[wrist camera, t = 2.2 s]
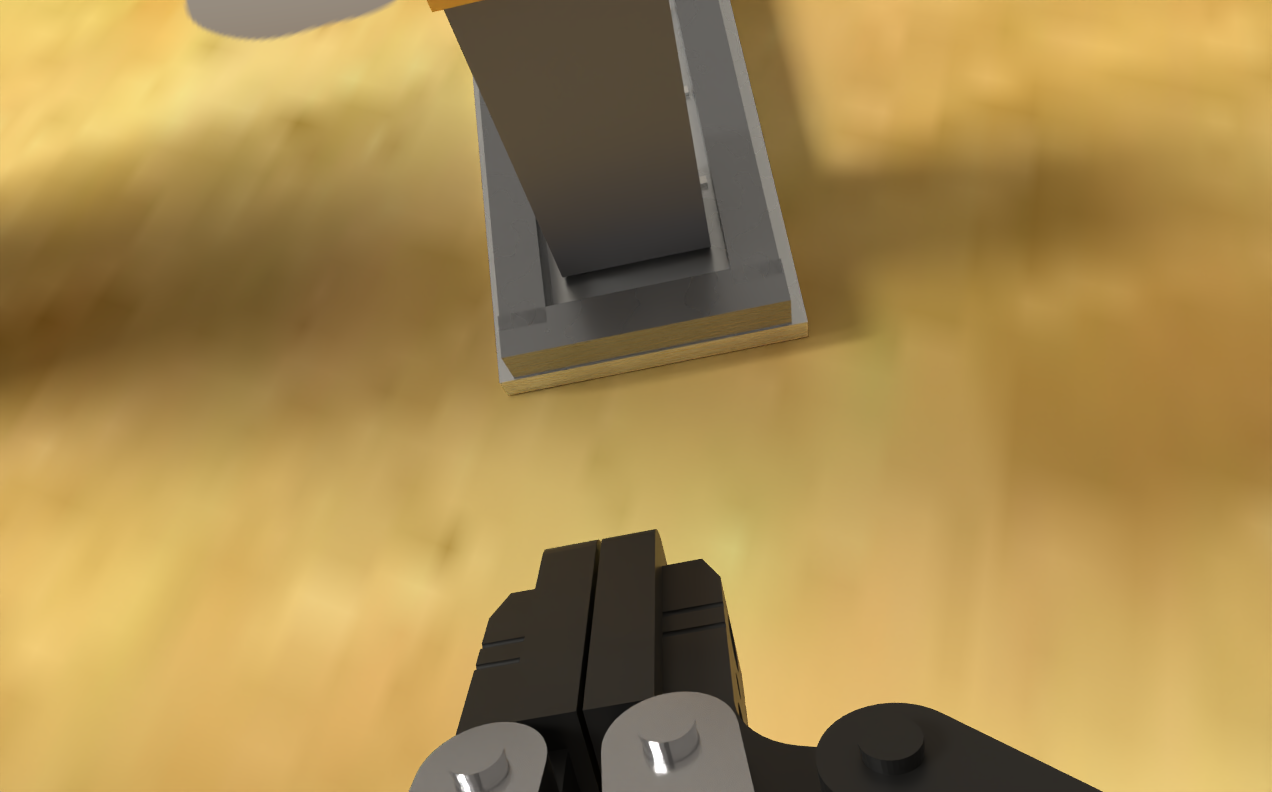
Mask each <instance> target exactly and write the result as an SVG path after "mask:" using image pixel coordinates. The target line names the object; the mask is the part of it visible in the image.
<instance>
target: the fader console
mask: <svg viewBox="0 0 1272 792" xmlns="http://www.w3.org/2000/svg"><path fill="white" fill-rule="evenodd" d="M669 4H670V10H671V16H672V21H673V27H674V33H675V39H676V45H677V51H678V56H679V62H680V68H681V74H682V80H683V86H684V91H685V97H686V103H687V109H688V115H689V121H690V126H691V132H692V138H693V144H694V150H695V156H696V162H697V167H698V173H699V179H700V185H701V191H702V197H703V202H704V208H705V214H706V220H707V226H708V232H709V237H710V243H711V247H707V248H702V249H697V250H693V251H688V252H683V253H678V254H673V255H668V256H664V257H659V258H654V259H649V260H644V261H639V262H635V263H630V264H625V265H620V266H615V267H610V268H606V269H601V270H596V271H591V272H586V273H581V274H577V275H572V276H567V277H562V276H561V273H560V271H559V269H558V267H557V264H556V262H555V260H554V257H553V255H552V253H551V251H550V248H549V246H548V244H547V242H546V239H545V237H544V235H543V233H542V230H541V228H540V226H539V224H538V221H537V219H536V217H535V215H534V212H533V210H532V208H531V206H530V203H529V201H528V199H527V196H526V194H525V192H524V190H523V187H522V185H521V183H520V181H519V178H518V176H517V174H516V172H515V169H514V167H513V165H512V163H511V160H510V158H509V156H508V154H507V151H506V149H505V147H504V145H503V142H502V140H501V138H500V136H499V133H498V131H497V129H496V126H495V124H494V122H493V120H492V117H491V115H490V113H489V111H488V108H487V106H486V104H485V102H484V99H483V97H482V95H481V93H480V90H479V88H478V86H477V84H476V81H475V79H474V77H473V85H474V96H475V107H476V119H477V130H478V142H479V153H480V165H481V176H482V188H483V199H484V210H485V222H486V233H487V245H488V256H489V268H490V279H491V291H492V302H493V313H494V325H495V336H496V348H497V359H498V371H499V382H500V384H501V386H502V387H503V389H504V390H505V392H506V393H507V395H508V396H509V395H514V394H519V393H524V392H529V391H534V390H539V389H544V388H549V387H554V386H559V385H564V384H569V383H574V382H580V381H585V380H590V379H595V378H600V377H605V376H610V375H615V374H620V373H625V372H630V371H635V370H640V369H646V368H651V367H656V366H661V365H666V364H671V363H676V362H681V361H686V360H691V359H696V358H701V357H706V356H711V355H717V354H722V353H727V352H732V351H737V350H742V349H747V348H752V347H757V346H762V345H767V344H772V343H777V342H782V341H788V340H793V339H798V338H803V337H808V320H807V316H806V312H805V307H804V303H803V299H802V295H801V291H800V287H799V283H798V279H797V274H796V270H795V266H794V262H793V258H792V254H791V250H790V246H789V241H788V237H787V233H786V229H785V225H784V221H783V217H782V213H781V208H780V204H779V200H778V196H777V192H776V188H775V184H774V180H773V175H772V171H771V167H770V163H769V159H768V155H767V151H766V147H765V142H764V138H763V134H762V130H761V126H760V122H759V118H758V114H757V109H756V105H755V101H754V97H753V93H752V89H751V85H750V81H749V76H748V72H747V68H746V64H745V60H744V56H743V52H742V48H741V43H740V39H739V35H738V31H737V27H736V23H735V19H734V15H733V10H732V6H731V2H730V0H669Z"/></svg>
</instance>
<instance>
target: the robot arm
mask: <svg viewBox="0 0 1272 792" xmlns="http://www.w3.org/2000/svg"><path fill="white" fill-rule="evenodd" d="M482 647H483V649H480V652H479V656H478V659H477V663H476V669H477V670H475V671H474V673H473V677H472V680H471V684H470V687H469V691H468V694H467V698H466V701H465V705H464V708H463V712H462V715H461V719H460V722H459V726H458V729H457V733H456V736H454V737H452V738H451V739H449V740H448V741H446V742H445V743H443V744H442V745H441V746H439V747H438V748H437V749H436V750H434V751H433V752H432V753H431V754H430V755H429V756H428V757H427V758H426V760H425V761H424V762H423V764H422V765H421V766H420V768H419V770H418V772H417V774H416V776H415V778H414V780H413V783H412V785H411V788H410V790H409V792H1102V791H1100V790H1098V789H1096V788H1094V787H1092V786H1090V785H1088V784H1086V783H1084V782H1082V781H1080V780H1078V779H1076V778H1074V777H1072V776H1069V775H1067V774H1065V773H1063V772H1061V771H1059V770H1057V769H1055V768H1053V767H1051V766H1049V765H1047V764H1045V763H1043V762H1041V761H1039V760H1037V759H1035V758H1033V757H1031V756H1029V755H1027V754H1024V753H1022V752H1020V751H1018V750H1016V749H1014V748H1012V747H1010V746H1008V745H1006V744H1004V743H1002V742H1000V741H998V740H996V739H994V738H992V737H990V736H988V735H986V734H984V733H982V732H979V731H977V730H975V729H973V728H971V727H969V726H967V725H965V724H963V723H961V722H959V721H957V720H955V719H953V718H951V717H949V716H947V715H945V714H943V713H940V712H938V711H936V710H933V709H931V708H927V707H924V706H920V705H914V704H907V703H885V704H877V705H872V706H867V707H864V708H861V709H858V710H855V711H853V712H851V713H849V714H847V715H845V716H843V717H842V718H840V719H839V720H837V721H836V722H834V723H833V724H832V725H831V726H830V727H829V728H828V729H827V730H826V732H825V733H824V734H823V736H822V737H821V739H820V741H819V743H818V745H817V747H808V746H797V745H790V744H784V743H780V742H776V741H773V740H771V739H768V738H766V737H763V736H761V735H760V734H758V733H756V732H754V731H753V730H752V729H751V728H749V727H748V720H747V712H746V706H745V697H744V689H743V681H742V674H741V670H740V665H739V660H738V656H737V651H736V647H735V642H734V637H733V633H732V628H731V624H730V619H729V614H728V610H727V605H726V601H725V596H724V591H723V587H722V582H721V578H720V576H719V575H718V574H717V573H716V572H715V571H714V570H713V569H712V568H711V567H710V566H709V565H708V564H707V563H706V562H705V561H704V560H703V559H698V560H693V561H687V562H682V563H676V564H671V565H667V562H666V558H665V554H664V550H663V546H662V542H661V538H660V535H659V533H658V530H657V529H654V530H649V531H643V532H638V533H632V534H627V535H622V536H616V537H611V538H606V539H602V542H601V541H600V540H594V541H589V542H583V543H578V544H572V545H567V546H562V547H556V548H551V549H546V550H545V551H544V552H543V556H542V561H541V565H540V570H539V574H538V579H537V583H536V588H535V589H533V590H527V591H522V592H516V593H511V594H510V595H509V596H508V598H507V599H506V600H505V601H504V602H503V603H502V604H501V606H500V607H499V608H498V609H497V610H496V611H495V612H494V614H493V615H492V616H491V617H490V618H489V621H488V625H487V628H486V632H485V635H484V639H483V642H482Z"/></svg>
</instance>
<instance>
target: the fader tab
mask: <svg viewBox="0 0 1272 792" xmlns="http://www.w3.org/2000/svg"><path fill="white" fill-rule="evenodd" d="M427 2H428V4H429V6H430V8H431V10H432V12H435V11H439V10H444V11H445V14H446V16H447V18H448V20H449V23H450V25H451V27H452V29H453V32H454V34H455V36H456V38H457V41H458V43H459V45H460V47H461V50H462V52H463V54H464V56H465V59H466V61H467V63H468V66H469V68H470V70H471V72H472V75H473V77H474V79H475V81H476V84H477V86H478V88H479V90H480V93H481V95H482V97H483V99H484V102H485V104H486V106H487V108H488V111H489V113H490V115H491V117H492V120H493V122H494V124H495V126H496V129H497V131H498V133H499V136H500V138H501V140H502V142H503V145H504V147H505V149H506V151H507V154H508V156H509V158H510V160H511V163H512V165H513V167H514V169H515V172H516V174H517V176H518V178H519V181H520V183H521V185H522V187H523V190H524V192H525V194H526V196H527V199H528V201H529V203H530V206H531V208H532V210H533V212H534V215H535V217H536V219H537V221H538V224H539V226H540V228H541V230H542V233H543V235H544V237H545V239H546V242H547V244H548V246H549V248H550V251H551V253H552V255H553V257H554V260H555V262H556V264H557V267H558V269H559V271H560V273H561V276H562V277H567V276H572V275H577V274H581V273H586V272H591V271H596V270H601V269H606V268H610V267H615V266H620V265H625V264H630V263H635V262H639V261H644V260H649V259H654V258H659V257H664V256H668V255H673V254H678V253H683V252H688V251H693V250H697V249H702V248H707V247H711V243H710V237H709V232H708V226H707V220H706V214H705V208H704V202H703V197H702V191H701V185H700V179H699V173H698V167H697V162H696V156H695V150H694V144H693V138H692V132H691V126H690V121H689V115H688V109H687V103H686V97H685V91H684V86H683V80H682V74H681V68H680V62H679V56H678V51H677V45H676V39H675V33H674V27H673V21H672V16H671V10H670V4H669V0H427Z"/></svg>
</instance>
